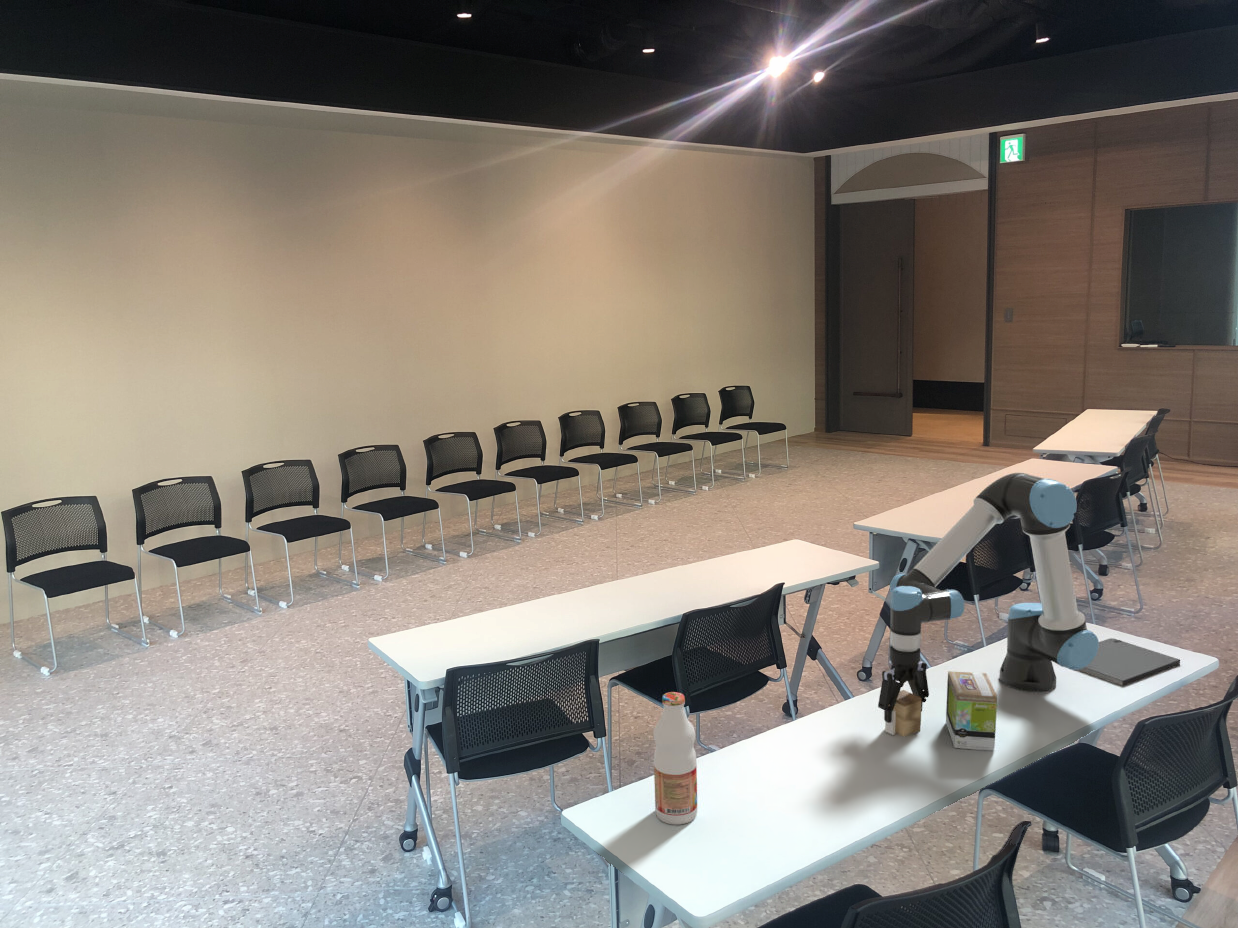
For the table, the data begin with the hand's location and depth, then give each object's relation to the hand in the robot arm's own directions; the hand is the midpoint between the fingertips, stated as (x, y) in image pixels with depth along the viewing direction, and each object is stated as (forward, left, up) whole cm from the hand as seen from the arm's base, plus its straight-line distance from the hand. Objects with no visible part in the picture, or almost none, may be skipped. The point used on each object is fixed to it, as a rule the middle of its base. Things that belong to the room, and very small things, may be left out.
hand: (903, 728), depth 241 cm
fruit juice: (+72, +2, 0) cm, 72 cm away
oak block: (0, 0, 0) cm, 0 cm away
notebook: (-85, +4, -1) cm, 85 cm away
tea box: (-11, +12, 0) cm, 16 cm away
